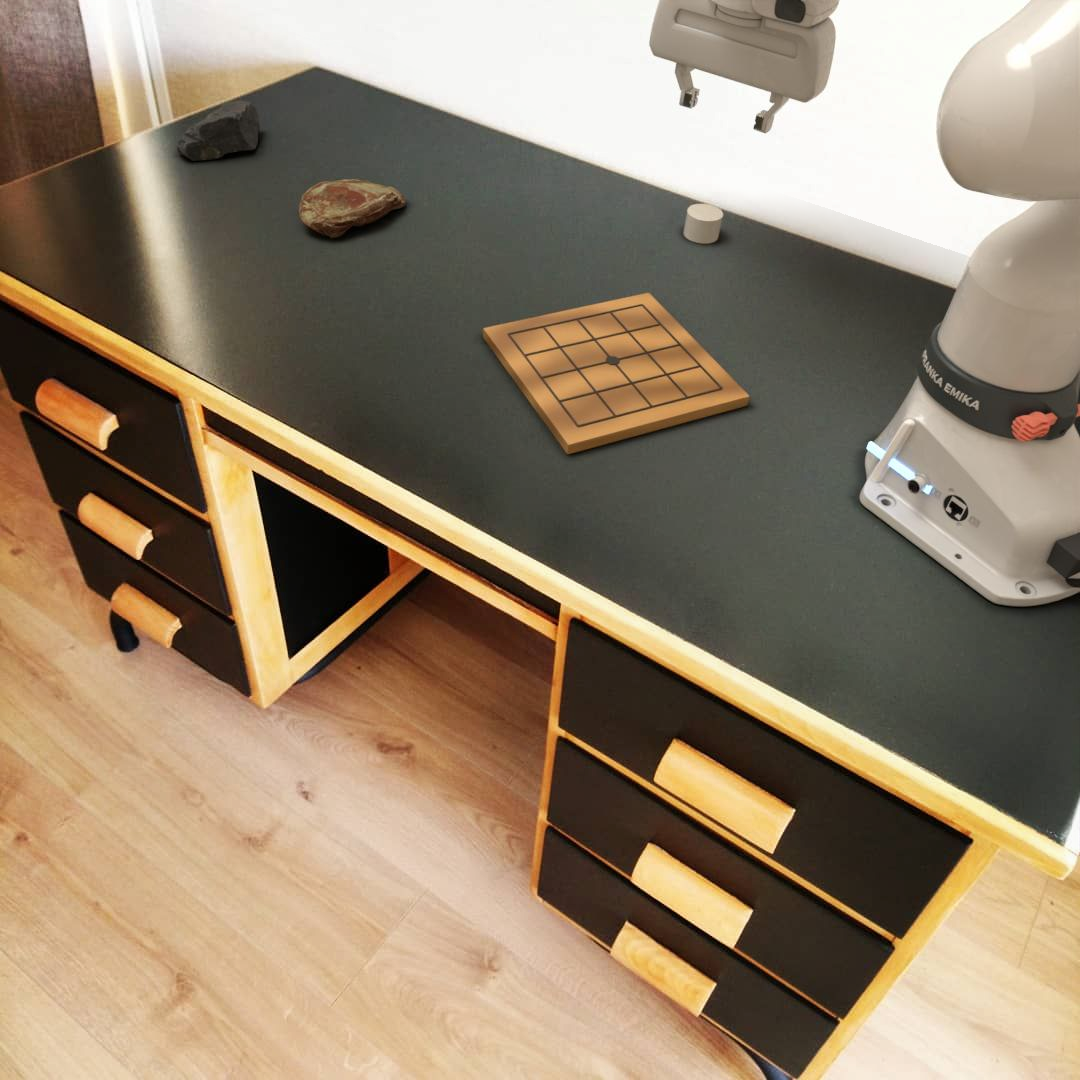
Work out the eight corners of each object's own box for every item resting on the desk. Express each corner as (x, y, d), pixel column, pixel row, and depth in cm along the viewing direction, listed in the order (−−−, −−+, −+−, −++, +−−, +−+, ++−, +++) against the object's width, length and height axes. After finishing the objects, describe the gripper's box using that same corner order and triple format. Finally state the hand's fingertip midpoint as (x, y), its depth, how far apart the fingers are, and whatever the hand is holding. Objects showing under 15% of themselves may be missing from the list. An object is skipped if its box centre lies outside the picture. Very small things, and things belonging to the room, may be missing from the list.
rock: (179, 172, 122) (252, 155, 121) (160, 125, 119) (235, 107, 118) (201, 153, 131) (269, 137, 130) (184, 109, 127) (253, 93, 127)
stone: (346, 186, 120) (344, 161, 118) (412, 204, 117) (411, 180, 115) (280, 228, 112) (276, 203, 110) (350, 249, 109) (347, 224, 107)
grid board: (747, 405, 93) (750, 395, 92) (567, 454, 86) (568, 443, 85) (647, 301, 105) (649, 291, 104) (482, 337, 98) (483, 326, 97)
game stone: (725, 240, 116) (730, 217, 114) (695, 246, 114) (699, 223, 112) (706, 223, 118) (710, 201, 116) (676, 229, 117) (680, 206, 115)
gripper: (648, -36, 98) (631, 100, 108) (831, 14, 90) (794, 154, 100) (678, -49, 101) (658, 83, 111) (855, -2, 94) (817, 135, 104)
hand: (724, 117), depth 106 cm, fingers open, 8 cm apart
